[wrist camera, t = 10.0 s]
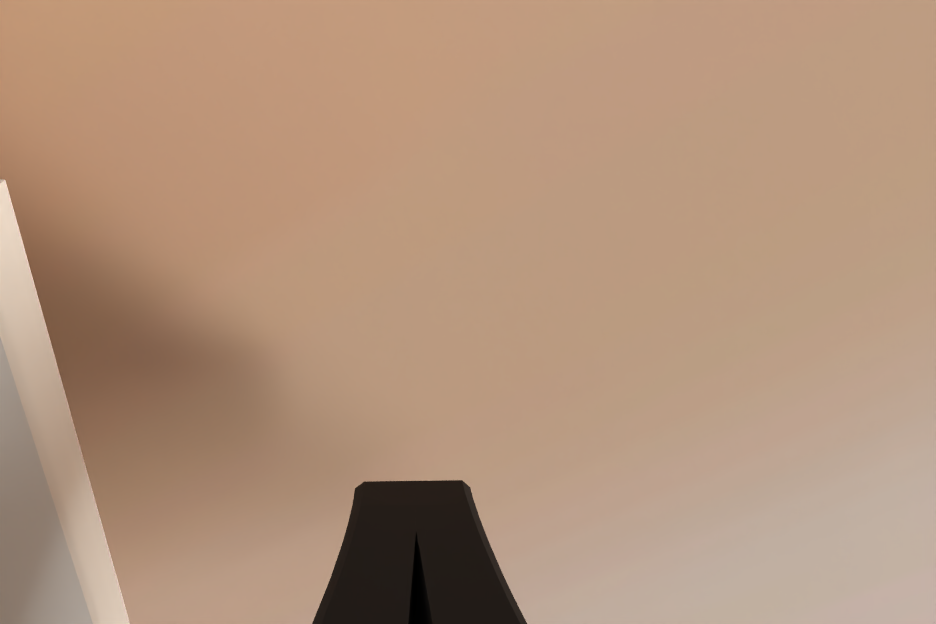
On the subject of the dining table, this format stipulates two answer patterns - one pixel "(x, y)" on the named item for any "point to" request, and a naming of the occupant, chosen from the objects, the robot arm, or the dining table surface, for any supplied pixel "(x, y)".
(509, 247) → the dining table surface
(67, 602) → the lid
